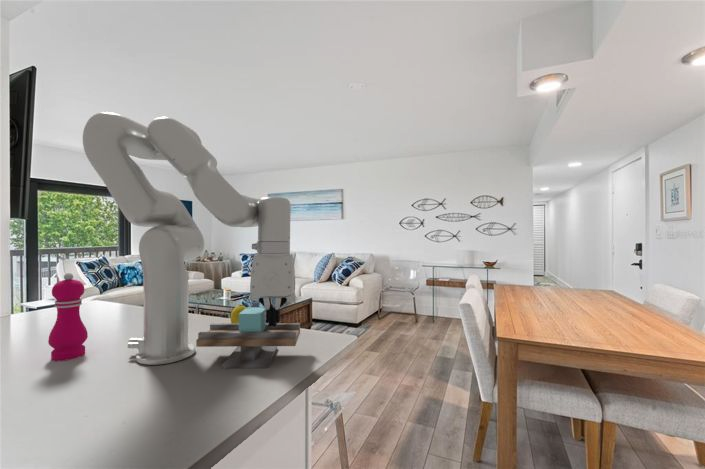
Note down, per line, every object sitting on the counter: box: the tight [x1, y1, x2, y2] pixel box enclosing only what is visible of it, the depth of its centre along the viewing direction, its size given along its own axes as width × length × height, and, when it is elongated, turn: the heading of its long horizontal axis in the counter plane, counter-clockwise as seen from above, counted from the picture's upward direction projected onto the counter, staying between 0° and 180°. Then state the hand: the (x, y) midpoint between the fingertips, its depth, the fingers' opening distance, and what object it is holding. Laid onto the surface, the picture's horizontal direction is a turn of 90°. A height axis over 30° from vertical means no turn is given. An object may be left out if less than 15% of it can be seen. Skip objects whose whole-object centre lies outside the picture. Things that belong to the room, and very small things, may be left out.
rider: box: [239, 307, 267, 332], centre depth 80 cm, size 5×5×5 cm
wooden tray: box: [195, 322, 301, 369], centre depth 81 cm, size 22×12×7 cm, turn 93°
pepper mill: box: [47, 272, 89, 362], centre depth 80 cm, size 7×7×20 cm
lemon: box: [230, 303, 247, 323], centre depth 102 cm, size 6×6×8 cm
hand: (273, 324), depth 81 cm, fingers closed
